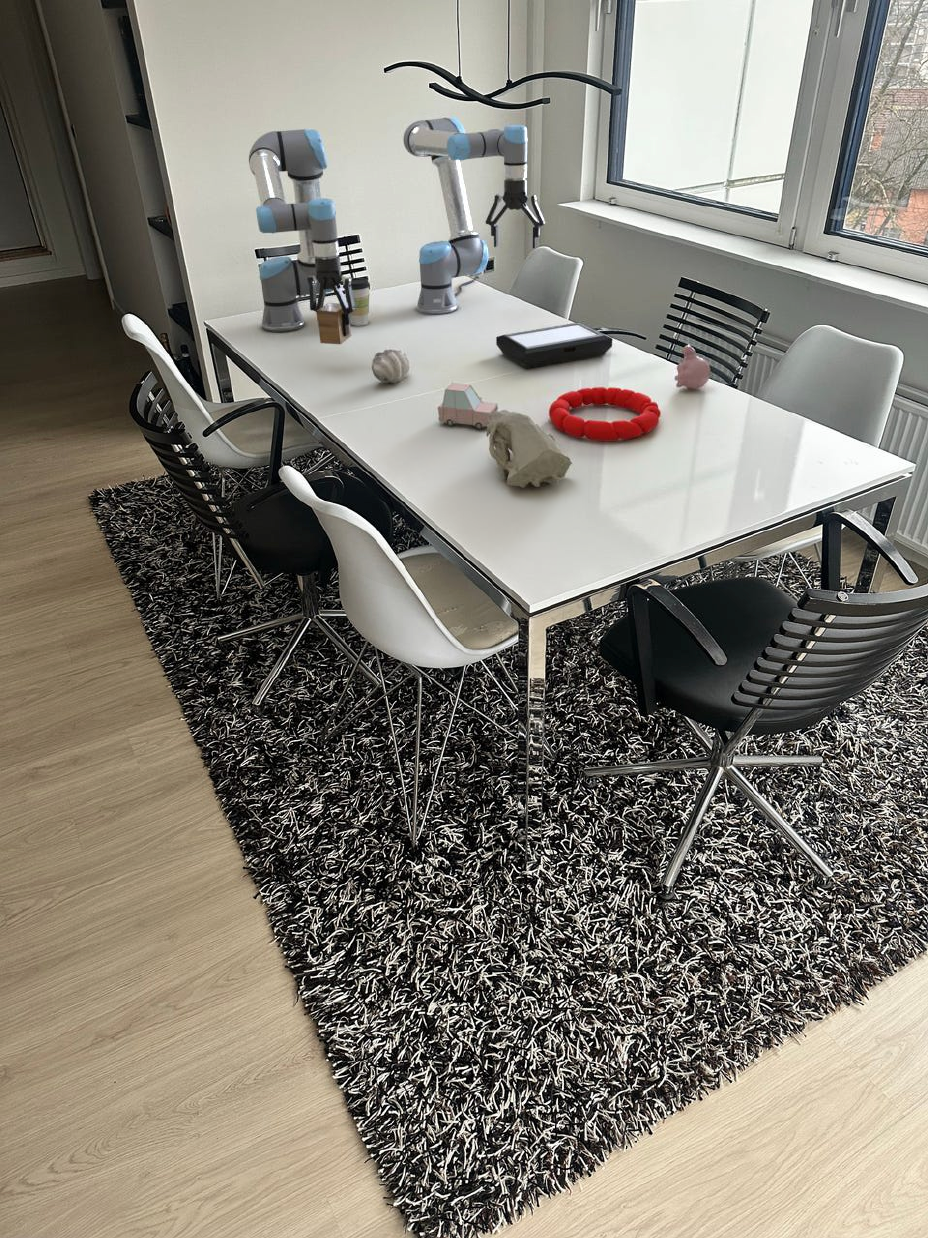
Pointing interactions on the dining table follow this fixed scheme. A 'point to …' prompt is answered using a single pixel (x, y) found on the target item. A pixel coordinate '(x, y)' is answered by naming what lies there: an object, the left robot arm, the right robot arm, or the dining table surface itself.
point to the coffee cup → (360, 301)
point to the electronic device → (553, 344)
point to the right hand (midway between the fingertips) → (515, 246)
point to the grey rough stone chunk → (525, 450)
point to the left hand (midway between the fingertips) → (335, 333)
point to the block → (331, 324)
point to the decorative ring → (604, 428)
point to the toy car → (465, 406)
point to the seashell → (390, 366)
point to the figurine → (692, 370)
